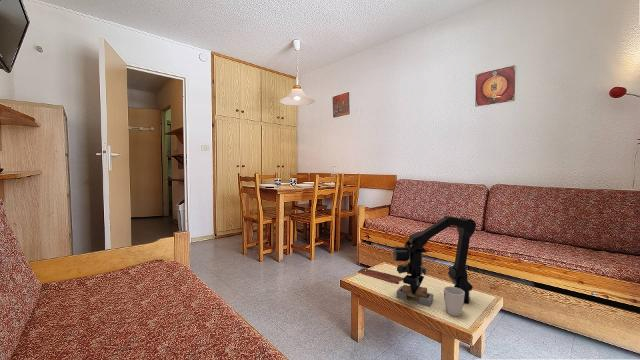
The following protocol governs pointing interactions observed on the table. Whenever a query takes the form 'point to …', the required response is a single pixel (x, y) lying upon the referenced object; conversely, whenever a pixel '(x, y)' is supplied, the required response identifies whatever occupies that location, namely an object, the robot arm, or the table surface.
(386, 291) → the table surface
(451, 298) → the cup
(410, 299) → the table surface
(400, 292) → the end cap
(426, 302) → the end cap
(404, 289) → the slat
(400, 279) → the wooden tablet
